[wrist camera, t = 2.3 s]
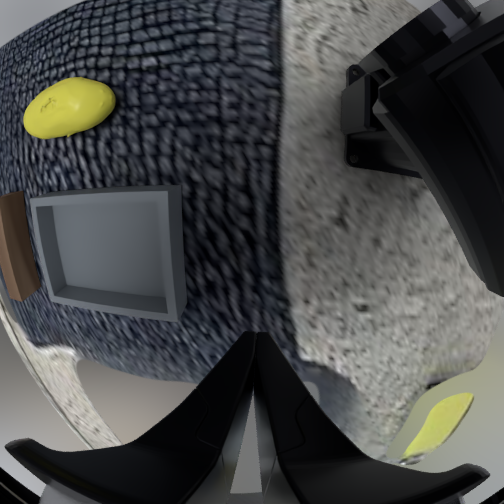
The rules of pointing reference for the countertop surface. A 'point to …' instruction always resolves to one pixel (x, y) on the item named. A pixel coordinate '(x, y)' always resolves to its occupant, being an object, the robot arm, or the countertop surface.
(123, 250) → the tray
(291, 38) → the countertop surface
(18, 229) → the rail
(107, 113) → the lemon
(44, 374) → the countertop surface
